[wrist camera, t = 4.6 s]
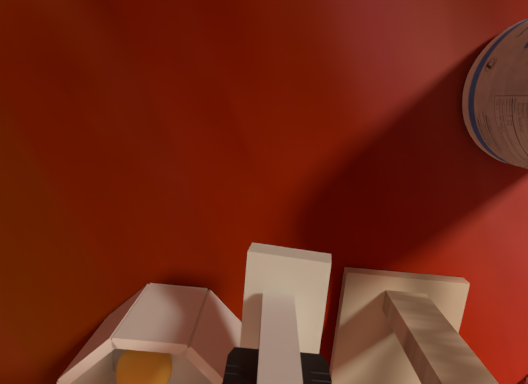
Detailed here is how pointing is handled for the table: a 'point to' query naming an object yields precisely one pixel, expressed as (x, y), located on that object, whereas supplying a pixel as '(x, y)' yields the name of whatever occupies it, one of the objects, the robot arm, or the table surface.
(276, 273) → the seesaw chute
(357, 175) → the table surface
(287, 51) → the table surface
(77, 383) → the cup
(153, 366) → the ball
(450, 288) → the chute stand
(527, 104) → the supplement tub
